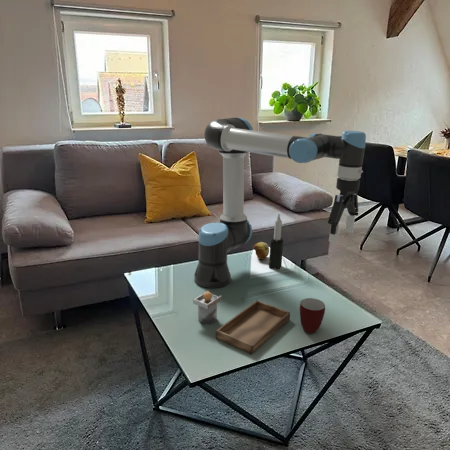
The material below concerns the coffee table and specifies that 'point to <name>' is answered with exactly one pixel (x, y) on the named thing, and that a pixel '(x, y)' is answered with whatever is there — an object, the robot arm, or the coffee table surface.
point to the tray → (253, 326)
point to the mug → (311, 314)
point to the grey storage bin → (207, 308)
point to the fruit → (261, 250)
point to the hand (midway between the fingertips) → (341, 237)
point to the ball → (207, 296)
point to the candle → (276, 246)
